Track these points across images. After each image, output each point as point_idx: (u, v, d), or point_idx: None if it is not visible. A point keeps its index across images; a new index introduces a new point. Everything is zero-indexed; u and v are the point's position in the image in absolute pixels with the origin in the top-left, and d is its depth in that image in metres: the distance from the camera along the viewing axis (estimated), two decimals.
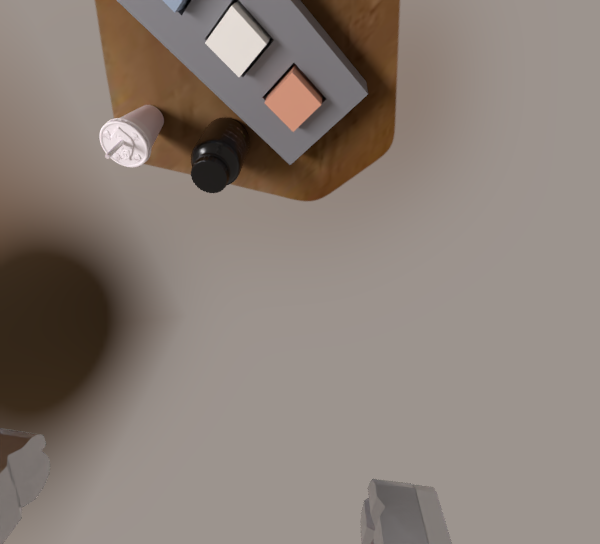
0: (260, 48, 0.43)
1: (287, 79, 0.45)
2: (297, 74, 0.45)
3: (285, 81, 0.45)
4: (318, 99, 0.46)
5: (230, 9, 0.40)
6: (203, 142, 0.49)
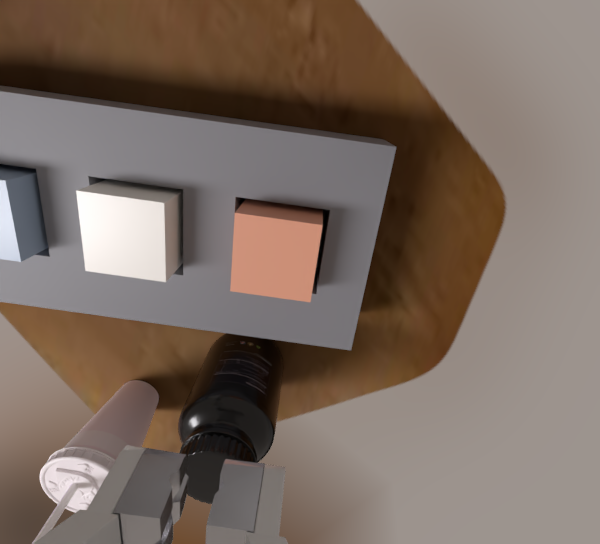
0: (160, 216, 0.22)
1: (236, 229, 0.22)
2: (250, 209, 0.22)
3: (235, 234, 0.22)
4: (312, 220, 0.22)
5: (79, 197, 0.21)
6: (182, 414, 0.26)
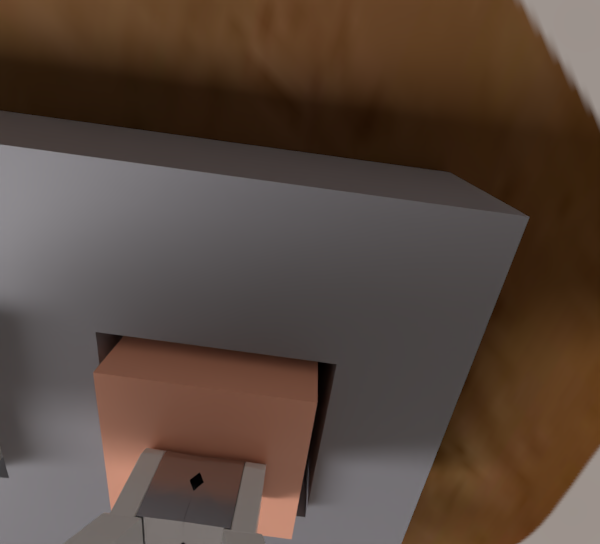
0: None
1: (103, 406, 0.09)
2: (146, 347, 0.09)
3: (104, 416, 0.09)
4: (293, 382, 0.09)
5: None
6: None
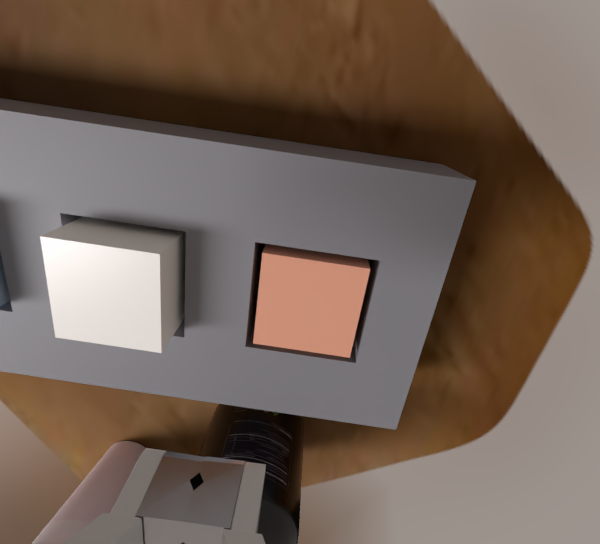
0: (155, 271, 0.16)
1: (263, 272, 0.18)
2: (280, 247, 0.18)
3: (262, 278, 0.18)
4: (356, 262, 0.18)
5: (44, 245, 0.16)
6: None
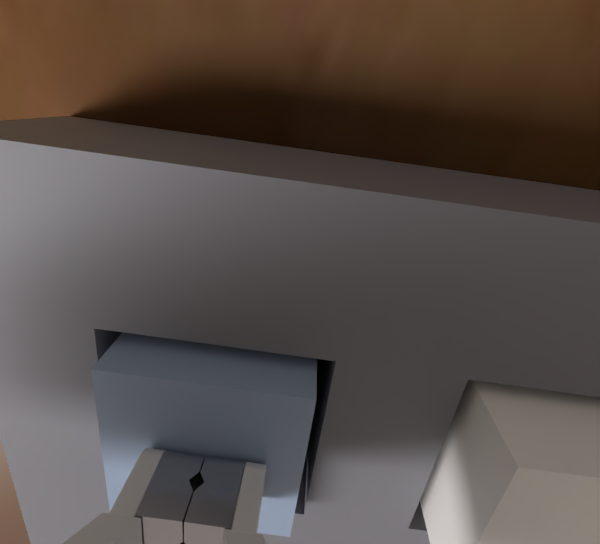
0: None
1: None
2: None
3: None
4: None
5: (518, 481, 0.08)
6: None
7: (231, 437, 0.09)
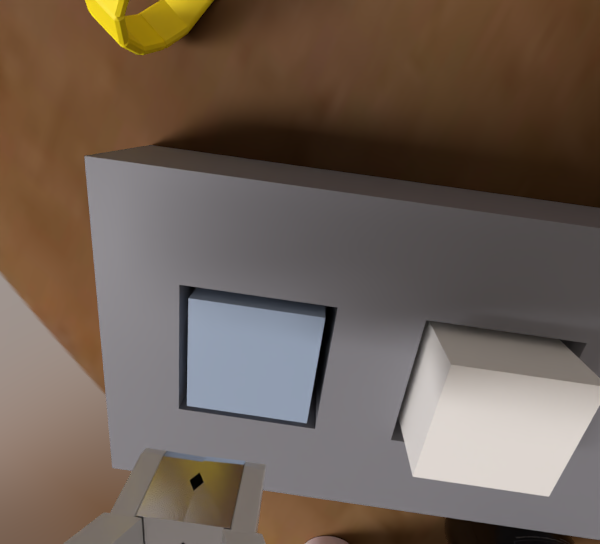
0: (591, 407, 0.12)
1: None
2: None
3: None
4: None
5: (452, 374, 0.12)
6: None
7: (271, 345, 0.14)
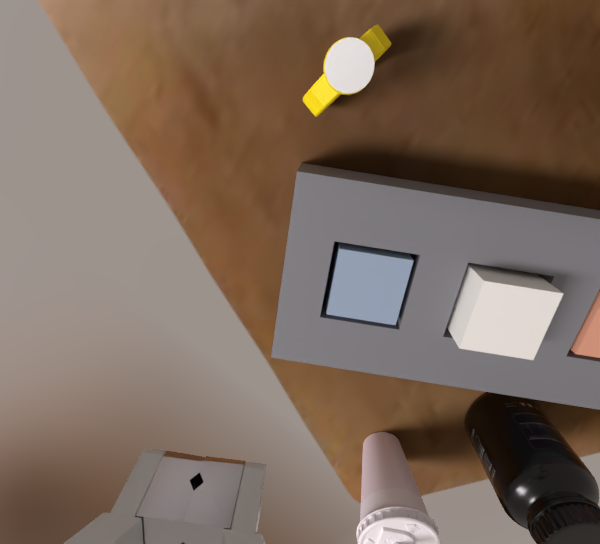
0: (555, 304, 0.24)
1: None
2: None
3: None
4: None
5: (484, 286, 0.24)
6: (517, 479, 0.27)
7: (381, 276, 0.26)
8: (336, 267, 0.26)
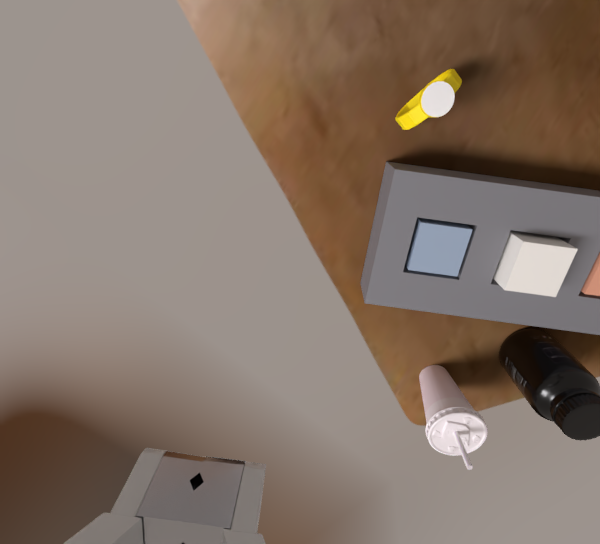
0: (571, 257, 0.35)
1: None
2: None
3: None
4: None
5: (523, 245, 0.35)
6: (543, 383, 0.39)
7: (449, 241, 0.37)
8: (417, 235, 0.37)
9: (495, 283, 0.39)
